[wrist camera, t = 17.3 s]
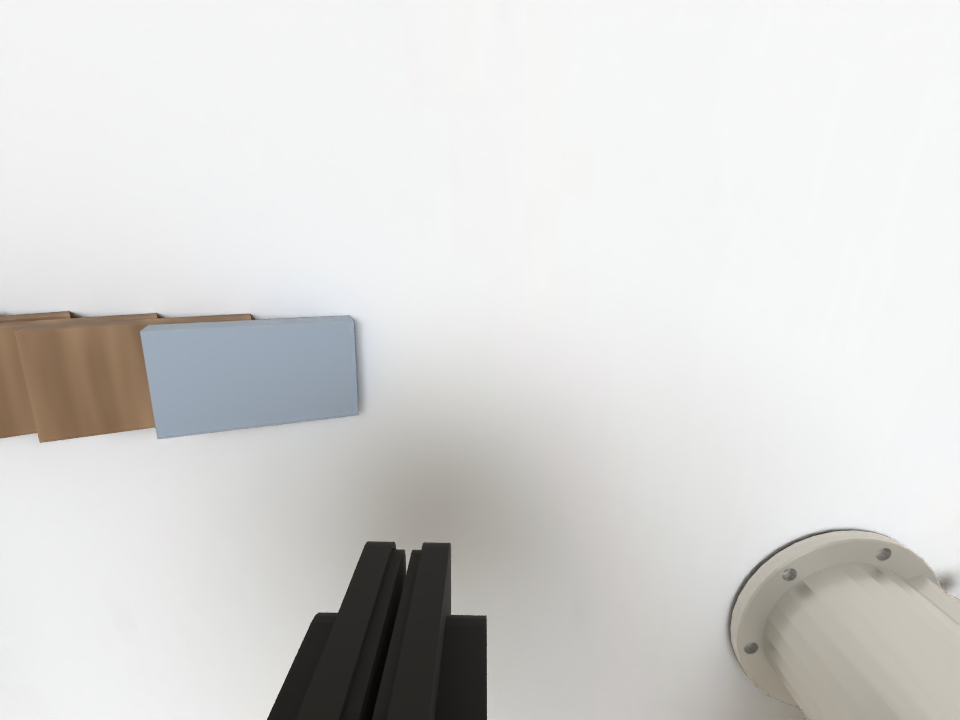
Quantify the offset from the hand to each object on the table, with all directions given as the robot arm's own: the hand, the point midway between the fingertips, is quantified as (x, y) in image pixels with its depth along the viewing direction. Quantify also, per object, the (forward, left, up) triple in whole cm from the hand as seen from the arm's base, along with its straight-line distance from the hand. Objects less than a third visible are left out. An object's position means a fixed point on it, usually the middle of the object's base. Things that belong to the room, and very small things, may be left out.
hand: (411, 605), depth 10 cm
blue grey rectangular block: (+5, -2, -17) cm, 17 cm away
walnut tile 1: (+10, -3, -17) cm, 20 cm away
